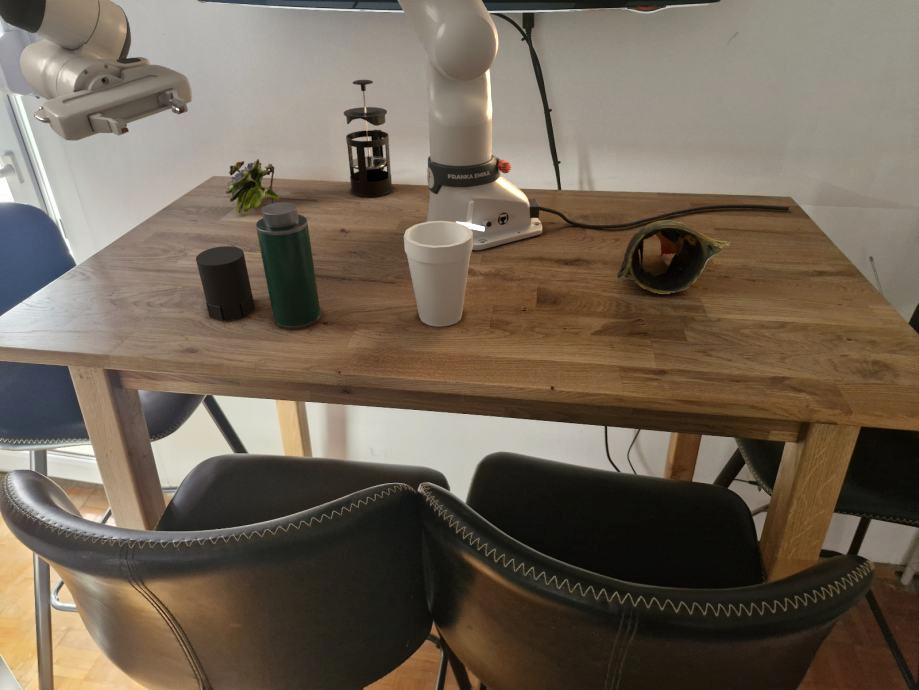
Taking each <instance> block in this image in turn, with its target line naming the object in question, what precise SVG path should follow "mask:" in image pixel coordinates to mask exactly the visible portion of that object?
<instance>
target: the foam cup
mask: <svg viewBox="0 0 919 690" xmlns="http://www.w3.org/2000/svg"><path fill="white" fill-rule="evenodd" d="M403 241H404V242H403V246H404V252H405V254H406V257H407V263H408V267H409V273H410V277H411V282H412V287H413V293H414V299H415V302H416V303H415V304H416V308H417V313H418V318H419V319H420V321H421V322H422V323H424V324H426V325H428V326H430V327H431V326H432V327H439V328H441V327H450V326H451V325H454V324H457V323H458V322H460V321H461V320H462V317H463V310H464V309H463V308H464V303H465V297H466V289H467V282H468V273H469V267H470V259H471V254H472V253H473V250H472V248H473V232H472V231H471V230H470V229H469V228H468V226H465V225H462V224H460V223H457V222H449V221H430V222H426V221H425V222H421V223H415V224H414V225H412V226H410V227H408V228H407V229H405V233H404V234H403Z"/></svg>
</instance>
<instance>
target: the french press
mask: <svg viewBox="0 0 919 690" xmlns="http://www.w3.org/2000/svg"><path fill="white" fill-rule="evenodd" d="M352 84H353V85H357V86H360V90H361V92H362V99H363V106H362V107H354V108H349V109H346V110H344V111H343V116H345V119H346V124H347V125H349V124H351V122H353V121H355V120H359V119H361V120H364V121H365V130H358V131H353V132H350V133H348V134H346V135H345V140H346V145H347V154H348V165H349V173H350V175H349V179H350V189H349V190H350V194H352V195H353V196H356V197H359V198H367V199H368V198H381V197H384V196H387V195H389V194H391V193H392V192H393V191H394V186H393V183H392V182H393V181H392V171H391V158H390V157H391V156H390V137H389V136H390V135H389V133H388V132H385V131H383V130H382V129H369V128H368V123H369V124H370V125H372V126H377V127H378V126H381V125H384V124H385V123H386V115H387V113H388V111H387V109H385V108H382V107H376V106H367V105H366V104H367V103H366V94H365V93H366V92H365V91H367V90H366V89H367V87H366V86H367V85H371V84H374V81H373V80H371V79H357V80H354V81H352ZM358 138H366V140H356V139H358ZM369 138H371V140H369ZM354 139H355V140H354ZM384 146H385V157H384ZM353 148H356V158H353ZM366 148H367V156H366V151H365V149H366ZM370 148H371V151H372V155H371V154H370V153H371V152H370ZM385 168H386V170H385ZM355 170H357V171H356V172H355Z"/></svg>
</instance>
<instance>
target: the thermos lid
mask: <svg viewBox="0 0 919 690" xmlns="http://www.w3.org/2000/svg"><path fill="white" fill-rule="evenodd" d="M195 262H196V265H197V270H198V274H199V277H200V282H201V285H202V286H201V287H202V289H203V293H204V297H205V304H206V308H207V312H208V316H209V318H210V319H213V320H216V321H219V322H230V321H236V320H242V319H244V318H246V317H247V316H249V315H250V314H252V313H253V312H255V310H256V306H255V300H254V296H253V292H252V287H251V282H250V281H251V280H250V276H249V272H248V271H249V270H248V267H247V262H246V257H245V252H244V250H243V249H242V248H240V247H237V246H231V245H226V246H225V245H223V246H216V247H211V248H209V249H205V250H203V251H201V252H199V253H198V254H197V255H196V257H195Z"/></svg>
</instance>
